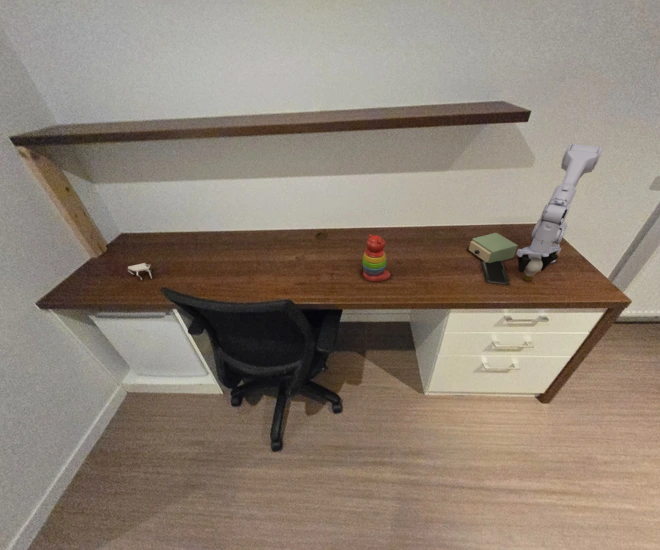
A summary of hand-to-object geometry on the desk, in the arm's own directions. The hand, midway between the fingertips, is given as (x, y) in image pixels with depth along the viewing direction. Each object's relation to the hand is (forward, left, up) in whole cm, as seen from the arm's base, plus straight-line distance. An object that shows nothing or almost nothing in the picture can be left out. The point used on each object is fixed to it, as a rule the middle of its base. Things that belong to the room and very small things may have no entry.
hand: (530, 270), depth 111 cm
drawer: (+1, -20, -4) cm, 20 cm away
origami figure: (+144, -65, -5) cm, 158 cm away
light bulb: (0, 0, -5) cm, 5 cm away
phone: (+7, -9, -5) cm, 12 cm away
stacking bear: (+51, -26, -5) cm, 57 cm away
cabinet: (-1, -20, -5) cm, 20 cm away
